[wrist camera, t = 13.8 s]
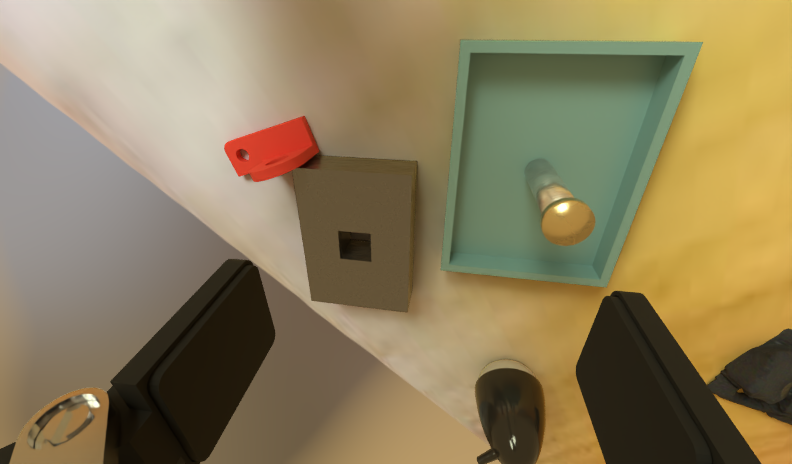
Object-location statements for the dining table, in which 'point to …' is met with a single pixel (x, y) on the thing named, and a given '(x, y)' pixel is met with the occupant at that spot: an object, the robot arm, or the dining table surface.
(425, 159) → the dining table surface
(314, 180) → the grey-brown socket block
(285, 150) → the bracket
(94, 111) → the dining table surface
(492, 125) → the tray
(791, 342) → the dark slate chunk
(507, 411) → the pump dispenser
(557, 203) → the pin
